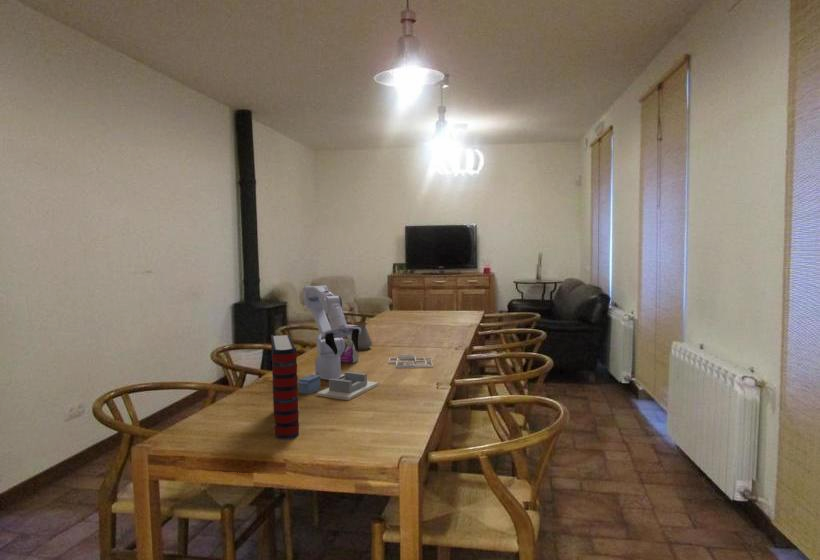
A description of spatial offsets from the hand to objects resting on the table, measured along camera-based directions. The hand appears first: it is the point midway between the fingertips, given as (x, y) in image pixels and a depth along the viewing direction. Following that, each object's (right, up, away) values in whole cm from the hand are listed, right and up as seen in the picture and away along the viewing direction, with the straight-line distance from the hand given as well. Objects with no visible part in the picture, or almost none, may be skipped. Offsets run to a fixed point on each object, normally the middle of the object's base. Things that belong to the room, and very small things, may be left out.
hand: (346, 351), depth 188 cm
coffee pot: (-2, -9, +69) cm, 70 cm away
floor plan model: (+20, -12, +43) cm, 49 cm away
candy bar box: (-6, -11, +47) cm, 48 cm away
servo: (-14, -15, +2) cm, 20 cm away
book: (-15, -18, -31) cm, 39 cm away
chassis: (0, -14, +2) cm, 15 cm away
